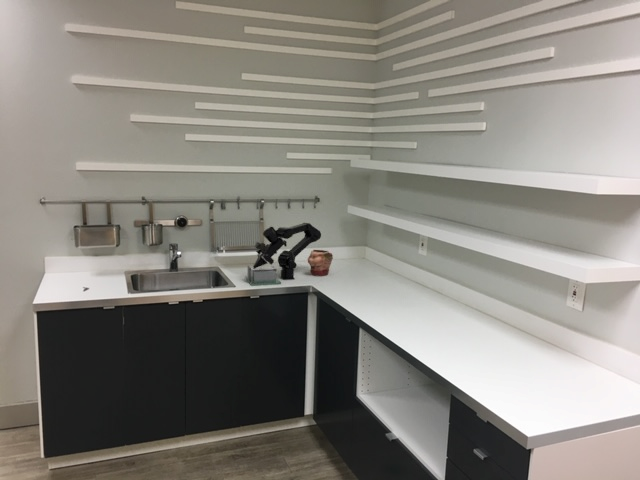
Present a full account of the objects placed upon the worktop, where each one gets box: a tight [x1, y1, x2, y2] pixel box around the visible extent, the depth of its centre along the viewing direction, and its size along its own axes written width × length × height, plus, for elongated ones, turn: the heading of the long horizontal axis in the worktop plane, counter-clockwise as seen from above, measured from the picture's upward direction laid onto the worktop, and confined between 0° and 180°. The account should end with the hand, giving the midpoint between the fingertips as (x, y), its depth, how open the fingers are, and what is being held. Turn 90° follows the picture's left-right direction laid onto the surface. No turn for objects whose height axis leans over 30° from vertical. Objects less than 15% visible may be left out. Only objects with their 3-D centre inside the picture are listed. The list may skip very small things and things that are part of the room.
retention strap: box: [249, 266, 276, 270], centre depth 280 cm, size 13×4×1 cm, turn 110°
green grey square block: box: [245, 265, 282, 287], centre depth 281 cm, size 16×16×8 cm
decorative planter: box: [307, 249, 334, 277], centre depth 302 cm, size 20×12×14 cm, turn 144°
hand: (253, 267), depth 278 cm, fingers closed, pressing on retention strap
